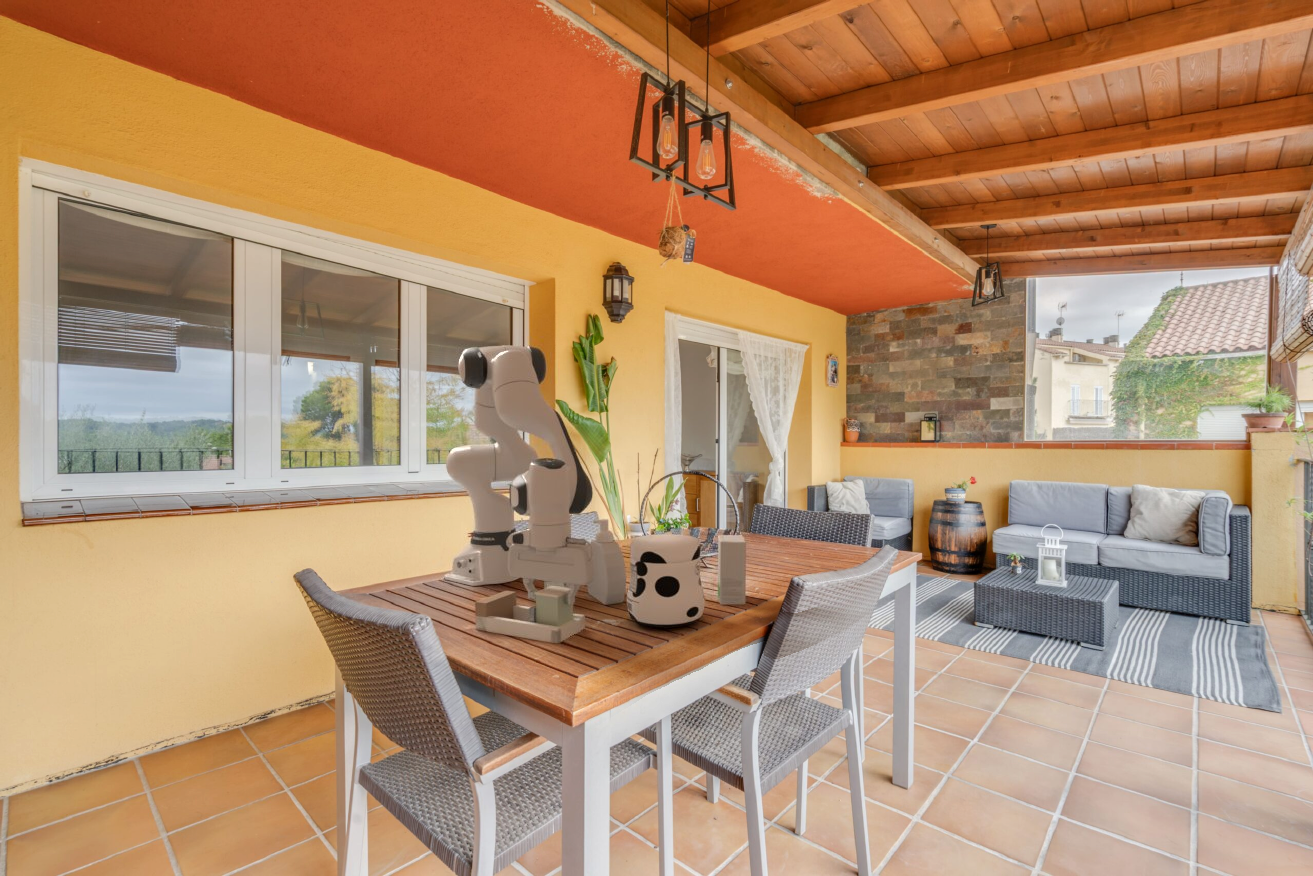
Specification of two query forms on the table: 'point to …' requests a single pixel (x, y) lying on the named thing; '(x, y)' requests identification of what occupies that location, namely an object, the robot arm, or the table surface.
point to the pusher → (532, 615)
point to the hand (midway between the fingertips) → (551, 601)
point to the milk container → (665, 581)
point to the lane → (520, 620)
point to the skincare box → (731, 569)
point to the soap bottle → (607, 567)
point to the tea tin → (553, 606)
